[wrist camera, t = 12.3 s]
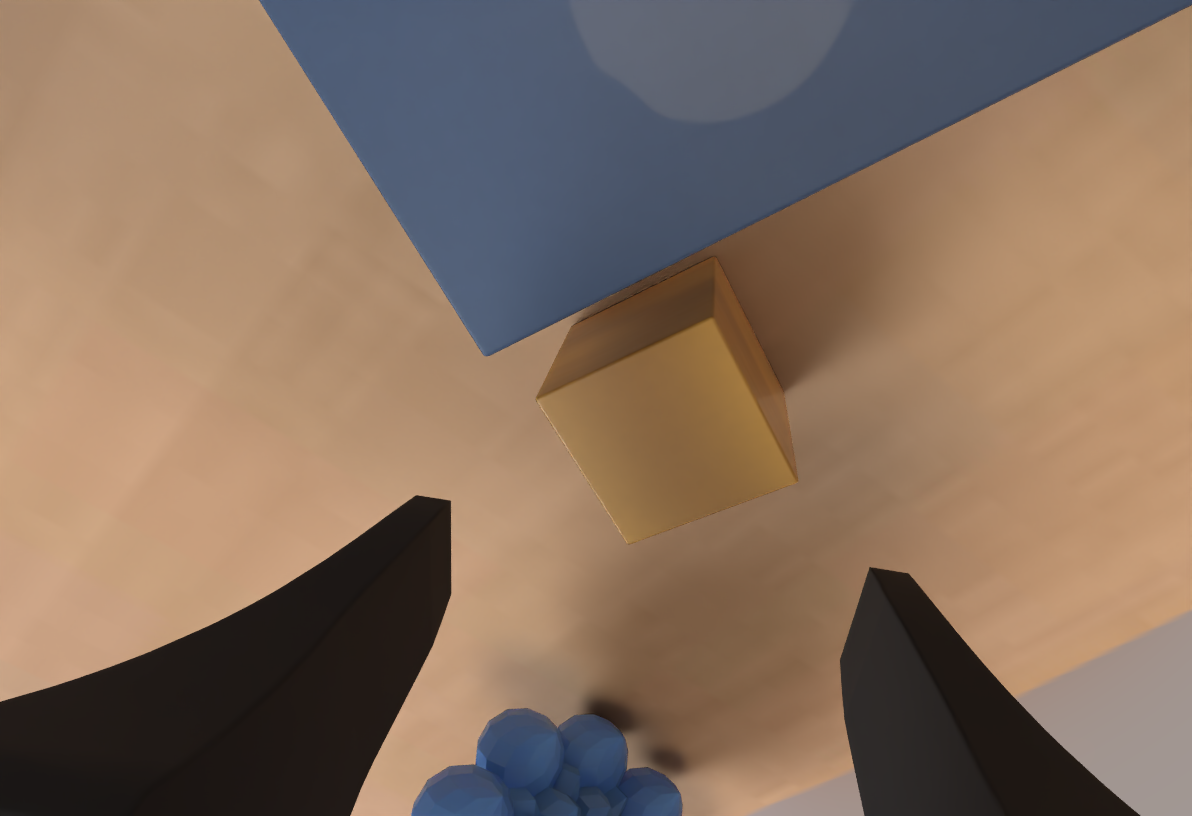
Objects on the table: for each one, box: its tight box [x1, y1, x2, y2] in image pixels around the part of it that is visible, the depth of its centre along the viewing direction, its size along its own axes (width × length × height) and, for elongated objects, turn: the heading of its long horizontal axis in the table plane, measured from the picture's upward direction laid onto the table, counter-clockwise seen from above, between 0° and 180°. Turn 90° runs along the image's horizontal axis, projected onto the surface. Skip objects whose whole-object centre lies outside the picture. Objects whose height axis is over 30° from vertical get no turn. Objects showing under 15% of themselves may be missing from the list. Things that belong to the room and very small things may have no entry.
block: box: [536, 257, 798, 544], centre depth 19 cm, size 4×4×5 cm
